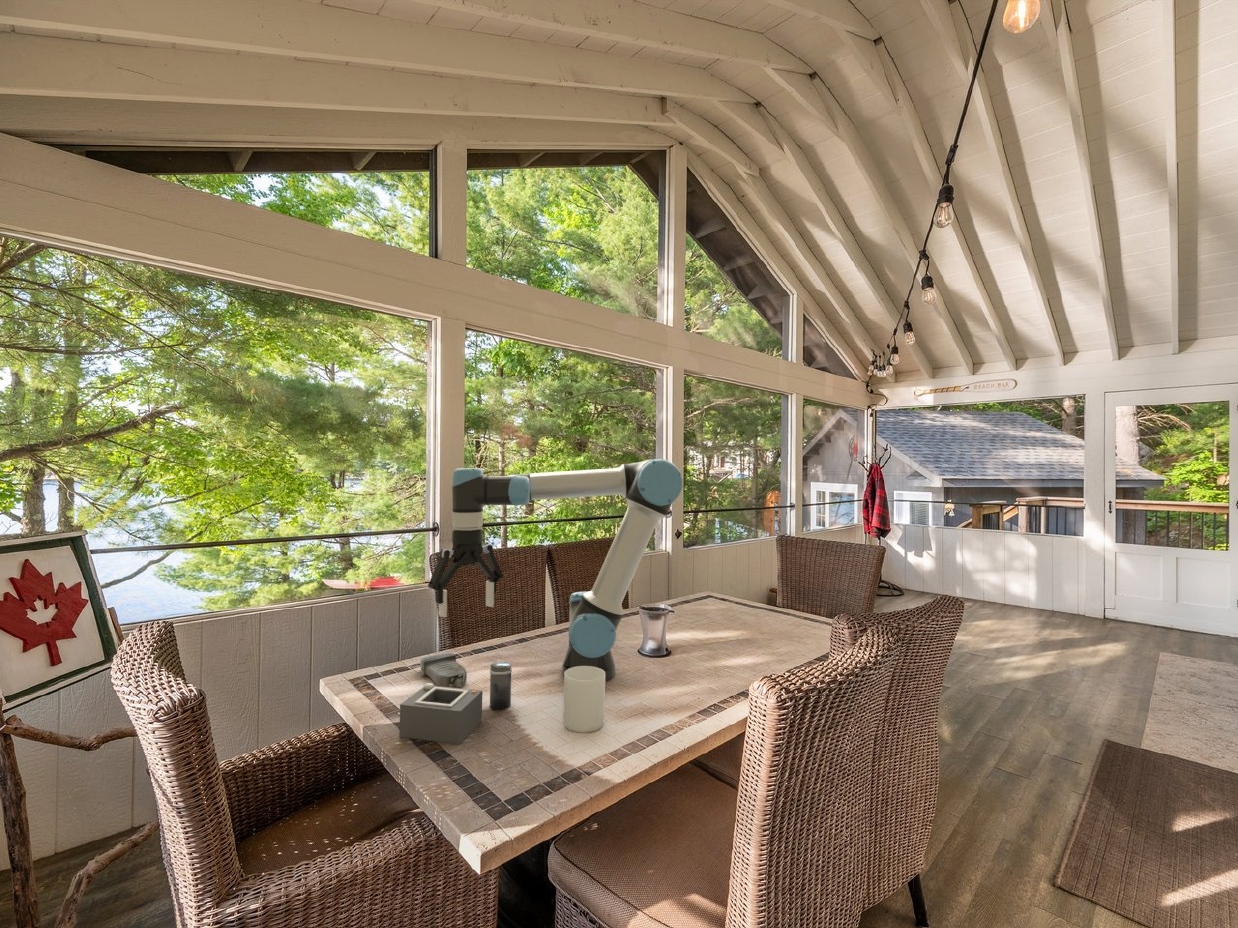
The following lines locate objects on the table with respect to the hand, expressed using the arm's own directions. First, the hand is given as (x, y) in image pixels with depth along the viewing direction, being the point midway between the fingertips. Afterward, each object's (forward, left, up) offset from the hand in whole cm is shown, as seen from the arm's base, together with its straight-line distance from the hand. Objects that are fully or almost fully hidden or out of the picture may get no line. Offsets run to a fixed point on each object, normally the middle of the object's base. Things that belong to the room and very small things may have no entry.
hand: (467, 611), depth 144 cm
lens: (-11, +5, -21) cm, 25 cm away
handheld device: (+9, -8, -22) cm, 25 cm away
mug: (-32, +9, -22) cm, 40 cm away
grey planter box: (-3, +19, -21) cm, 28 cm away
